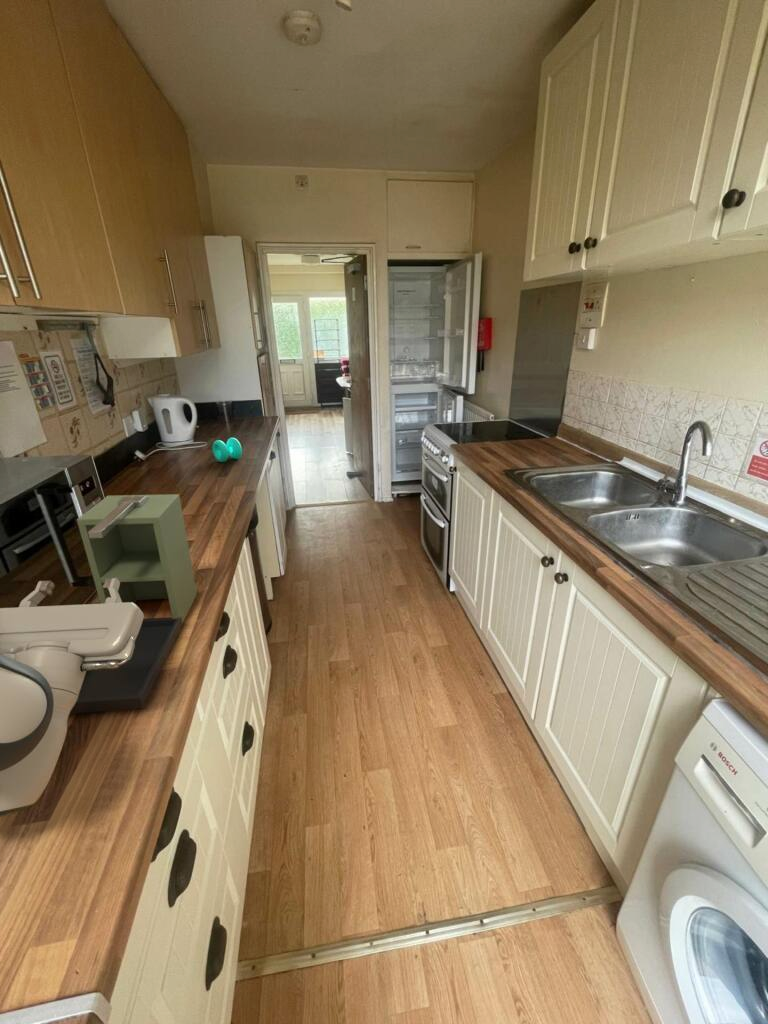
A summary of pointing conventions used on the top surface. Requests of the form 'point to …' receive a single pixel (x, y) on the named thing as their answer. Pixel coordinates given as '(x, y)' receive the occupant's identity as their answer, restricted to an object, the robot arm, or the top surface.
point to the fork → (117, 515)
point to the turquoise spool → (227, 449)
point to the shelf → (142, 552)
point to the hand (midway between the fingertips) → (80, 581)
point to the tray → (130, 671)
